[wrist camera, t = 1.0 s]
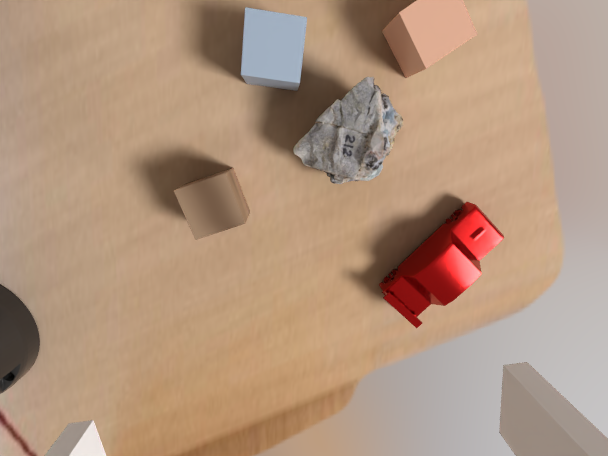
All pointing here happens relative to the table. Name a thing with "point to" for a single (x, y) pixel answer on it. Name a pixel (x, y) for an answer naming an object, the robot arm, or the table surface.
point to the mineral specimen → (352, 135)
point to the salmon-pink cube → (428, 33)
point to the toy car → (442, 264)
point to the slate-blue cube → (273, 49)
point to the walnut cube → (213, 203)
